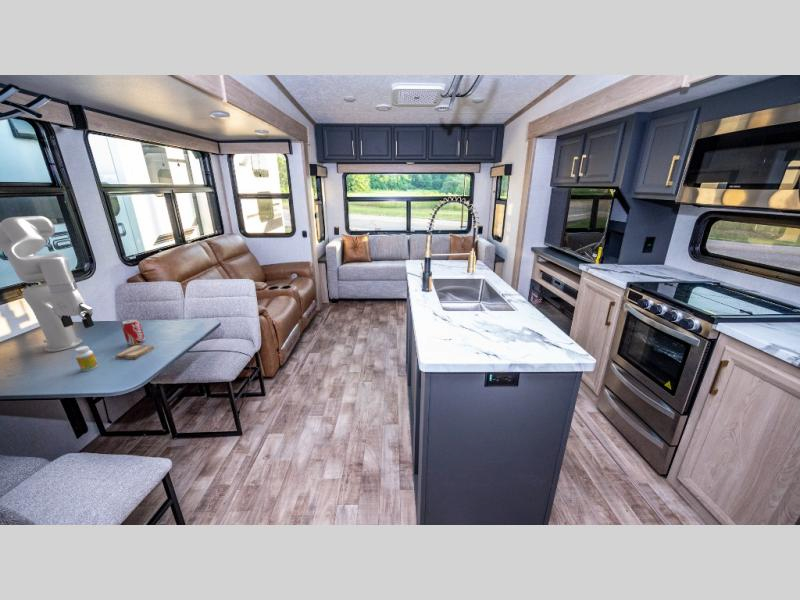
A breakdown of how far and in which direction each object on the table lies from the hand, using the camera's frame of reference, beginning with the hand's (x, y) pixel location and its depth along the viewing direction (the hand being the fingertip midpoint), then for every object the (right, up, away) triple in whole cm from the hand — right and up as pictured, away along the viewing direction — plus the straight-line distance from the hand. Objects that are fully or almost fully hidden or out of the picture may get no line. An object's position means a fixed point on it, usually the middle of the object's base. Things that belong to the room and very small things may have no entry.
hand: (79, 326), depth 127 cm
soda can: (+1, -11, +27) cm, 29 cm away
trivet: (+9, -14, +17) cm, 24 cm away
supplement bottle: (-1, -19, +6) cm, 20 cm away
